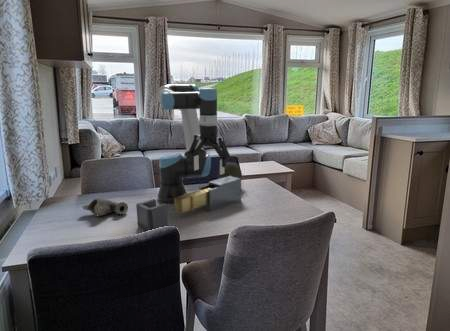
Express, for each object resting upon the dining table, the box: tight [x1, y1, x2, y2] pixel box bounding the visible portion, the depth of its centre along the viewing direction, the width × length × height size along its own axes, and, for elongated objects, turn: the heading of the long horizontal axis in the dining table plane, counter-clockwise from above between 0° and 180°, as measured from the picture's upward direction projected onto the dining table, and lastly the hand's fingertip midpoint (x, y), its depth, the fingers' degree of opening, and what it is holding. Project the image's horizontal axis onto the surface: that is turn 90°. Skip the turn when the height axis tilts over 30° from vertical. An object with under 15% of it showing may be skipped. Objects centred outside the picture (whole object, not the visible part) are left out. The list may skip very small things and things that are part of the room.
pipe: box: [81, 197, 129, 217], centre depth 150 cm, size 16×9×15 cm
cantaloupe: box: [217, 161, 243, 180], centre depth 186 cm, size 14×14×15 cm
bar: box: [173, 186, 216, 214], centre depth 154 cm, size 6×32×6 cm, turn 134°
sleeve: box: [198, 176, 242, 212], centre depth 162 cm, size 8×21×12 cm, turn 134°
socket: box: [135, 198, 169, 232], centre depth 135 cm, size 10×8×10 cm
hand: (209, 171), depth 146 cm, fingers open, 13 cm apart
